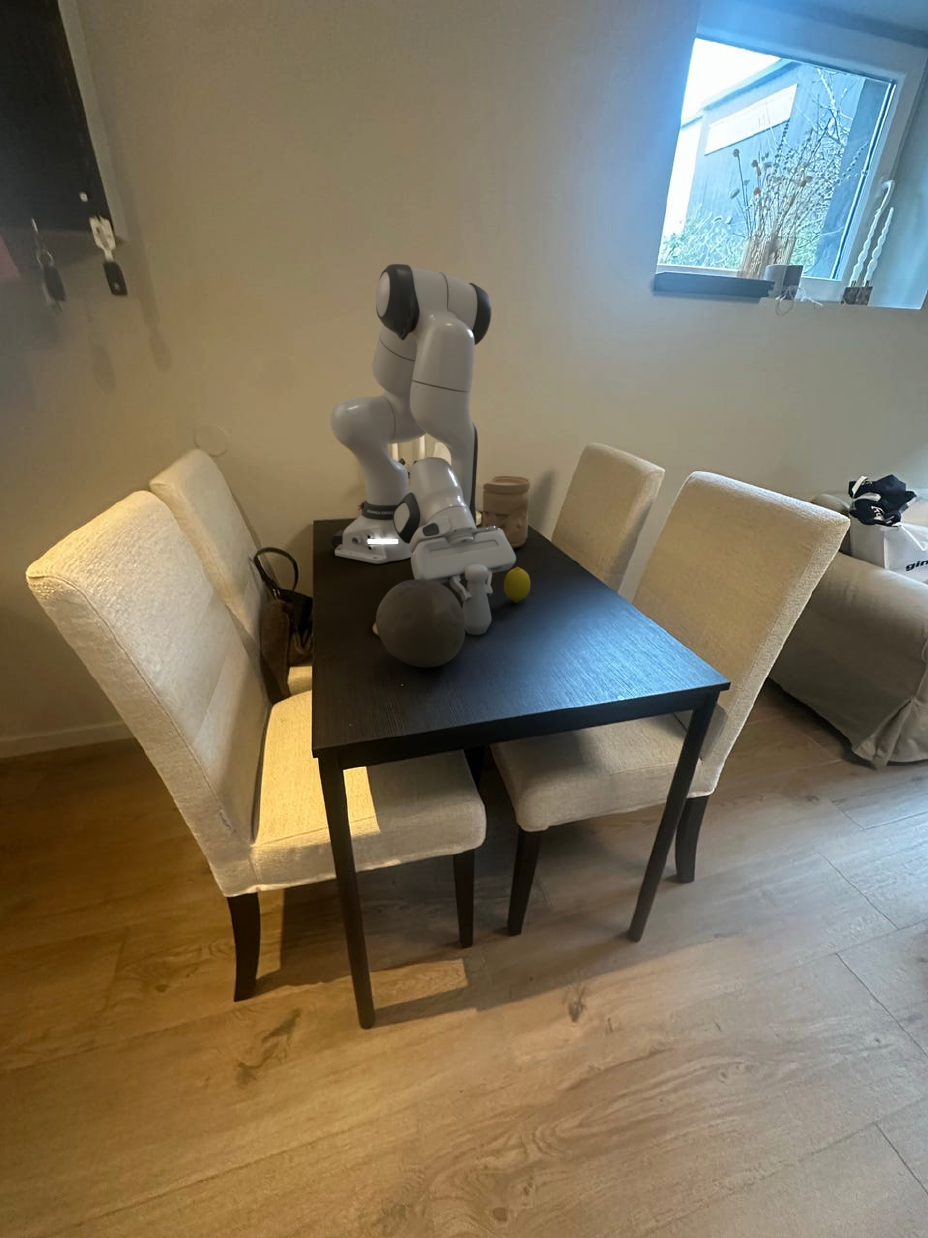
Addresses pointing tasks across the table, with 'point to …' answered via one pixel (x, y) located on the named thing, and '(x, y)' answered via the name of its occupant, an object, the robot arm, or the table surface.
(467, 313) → the robot arm
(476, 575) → the salt shaker
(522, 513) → the container
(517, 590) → the lemon
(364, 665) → the table surface
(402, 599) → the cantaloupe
